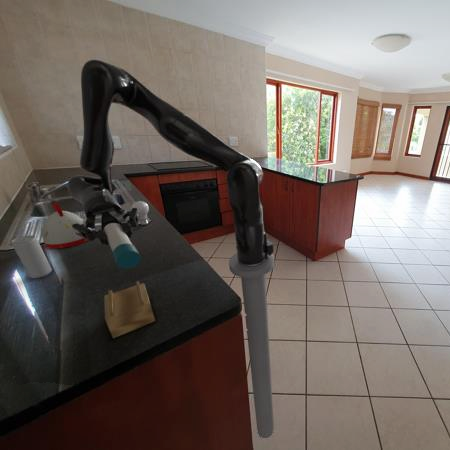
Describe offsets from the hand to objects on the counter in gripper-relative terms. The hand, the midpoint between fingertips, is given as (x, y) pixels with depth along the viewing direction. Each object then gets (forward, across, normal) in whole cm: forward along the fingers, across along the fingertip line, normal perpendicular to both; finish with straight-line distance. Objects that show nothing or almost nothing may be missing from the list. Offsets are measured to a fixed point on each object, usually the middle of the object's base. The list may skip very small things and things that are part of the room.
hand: (117, 237), depth 53 cm
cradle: (+7, -4, +18) cm, 19 cm away
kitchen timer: (-55, -13, +26) cm, 62 cm away
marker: (+3, 0, 0) cm, 3 cm away
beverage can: (-31, -20, +22) cm, 43 cm away
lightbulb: (-52, +12, +28) cm, 61 cm away
